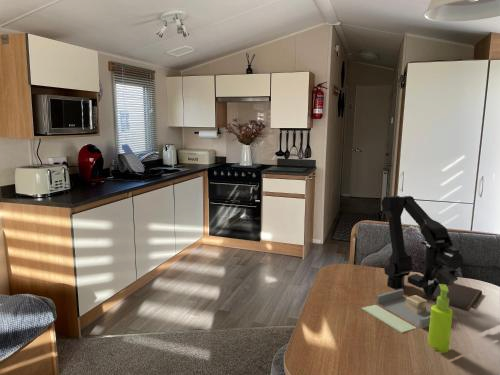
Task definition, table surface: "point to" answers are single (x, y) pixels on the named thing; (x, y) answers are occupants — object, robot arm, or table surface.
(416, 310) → the beech block
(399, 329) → the panel
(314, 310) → the table surface
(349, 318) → the table surface
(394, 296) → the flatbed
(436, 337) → the soap dispenser
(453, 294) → the hardcover book
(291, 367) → the table surface
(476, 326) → the table surface
